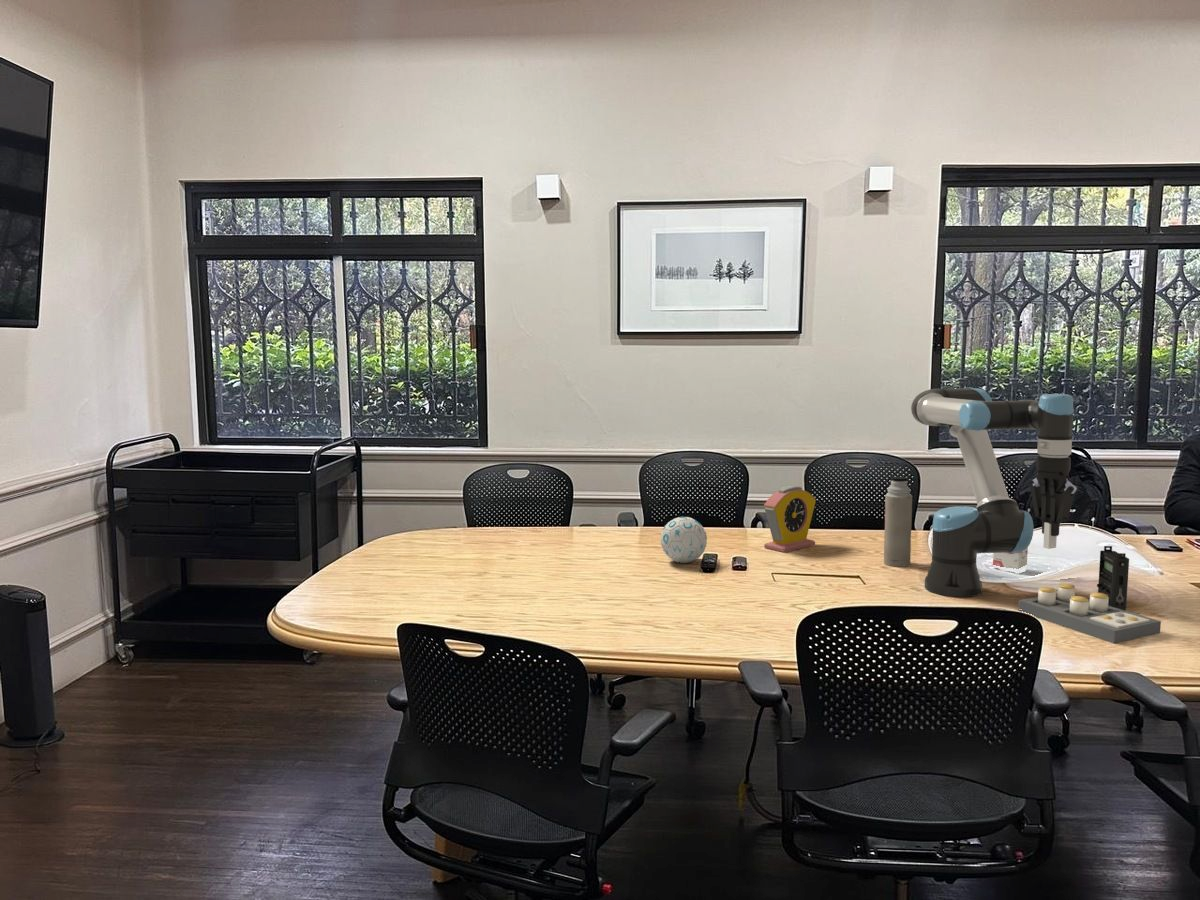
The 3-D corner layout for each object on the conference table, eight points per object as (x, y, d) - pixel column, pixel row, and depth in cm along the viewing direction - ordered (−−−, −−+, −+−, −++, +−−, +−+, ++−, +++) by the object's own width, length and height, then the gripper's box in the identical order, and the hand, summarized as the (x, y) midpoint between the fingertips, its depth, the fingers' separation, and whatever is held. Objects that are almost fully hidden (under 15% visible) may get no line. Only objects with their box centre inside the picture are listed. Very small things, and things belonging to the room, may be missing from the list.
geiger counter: (1091, 598, 223) (1094, 544, 221) (1110, 599, 222) (1113, 545, 220) (1108, 610, 213) (1111, 554, 211) (1127, 611, 212) (1131, 554, 210)
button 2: (1053, 599, 214) (1054, 584, 214) (1064, 597, 216) (1065, 582, 215) (1067, 604, 210) (1068, 588, 210) (1078, 602, 212) (1079, 586, 211)
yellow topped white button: (1085, 609, 206) (1086, 593, 205) (1096, 607, 207) (1097, 591, 207) (1100, 614, 202) (1101, 597, 202) (1111, 612, 204) (1112, 595, 203)
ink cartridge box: (991, 568, 255) (993, 522, 253) (1001, 566, 257) (1002, 520, 256) (1018, 574, 247) (1020, 526, 246) (1027, 572, 250) (1029, 524, 248)
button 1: (1034, 603, 212) (1034, 587, 211) (1045, 601, 213) (1046, 585, 213) (1047, 607, 208) (1048, 591, 207) (1059, 605, 209) (1059, 589, 209)
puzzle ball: (661, 556, 277) (661, 512, 276) (706, 556, 276) (706, 512, 274) (660, 567, 262) (660, 521, 261) (707, 568, 261) (707, 522, 259)
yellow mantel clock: (778, 554, 277) (779, 491, 274) (758, 549, 284) (758, 488, 282) (820, 544, 290) (821, 484, 287) (799, 539, 297) (800, 481, 295)
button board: (1018, 611, 213) (1019, 597, 213) (1062, 603, 219) (1062, 589, 219) (1113, 643, 189) (1114, 627, 189) (1160, 633, 195) (1161, 618, 195)
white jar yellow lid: (1065, 613, 203) (1066, 597, 203) (1076, 611, 205) (1077, 595, 204) (1080, 618, 200) (1081, 601, 199) (1091, 615, 201) (1092, 599, 201)
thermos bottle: (879, 563, 262) (881, 477, 259) (890, 559, 268) (892, 474, 265) (903, 568, 257) (905, 480, 253) (914, 563, 262) (917, 477, 259)
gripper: (1020, 454, 210) (1017, 543, 213) (1066, 459, 198) (1062, 554, 201) (1041, 452, 213) (1038, 541, 216) (1088, 457, 201) (1083, 551, 204)
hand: (1049, 547), depth 208 cm, fingers closed
